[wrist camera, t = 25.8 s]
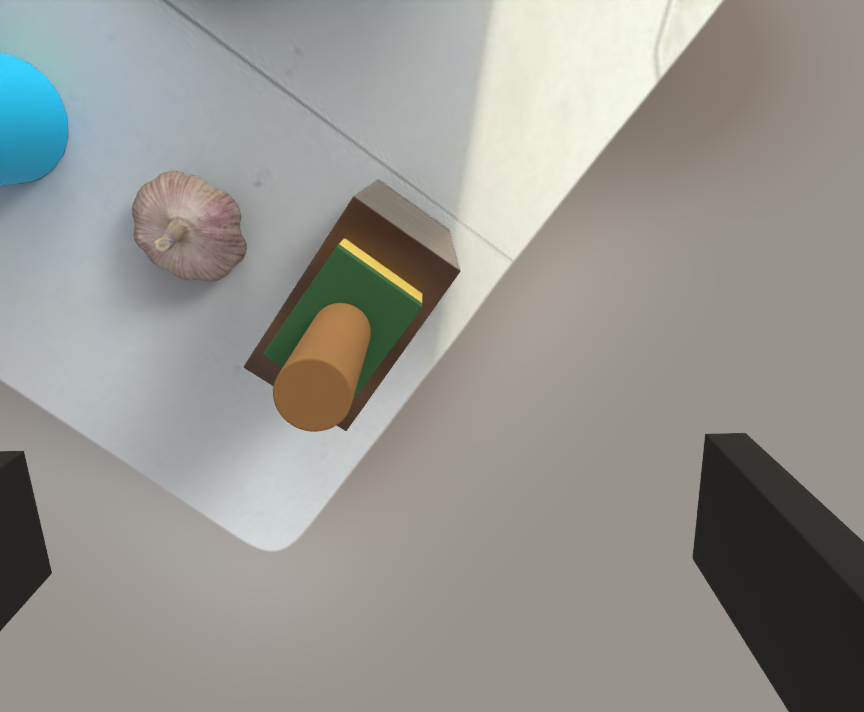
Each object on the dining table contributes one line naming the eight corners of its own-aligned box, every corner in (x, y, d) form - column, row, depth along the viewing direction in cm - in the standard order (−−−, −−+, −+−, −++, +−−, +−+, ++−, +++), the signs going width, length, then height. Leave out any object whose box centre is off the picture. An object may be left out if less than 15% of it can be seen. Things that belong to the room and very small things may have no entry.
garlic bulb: (268, 262, 47) (237, 284, 40) (171, 290, 48) (123, 317, 40) (228, 154, 45) (189, 156, 38) (128, 185, 46) (68, 193, 38)
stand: (377, 178, 46) (353, 195, 30) (449, 229, 47) (461, 270, 32) (300, 297, 48) (242, 367, 33) (370, 342, 49) (346, 431, 34)
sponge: (344, 237, 31) (304, 282, 21) (423, 293, 32) (421, 364, 22) (274, 338, 32) (205, 427, 22) (352, 389, 33) (319, 498, 23)
